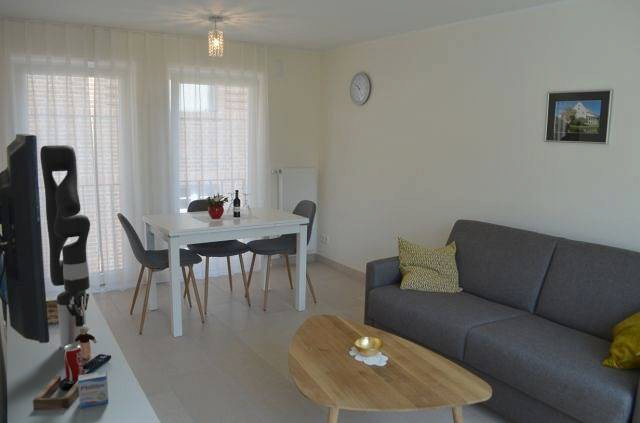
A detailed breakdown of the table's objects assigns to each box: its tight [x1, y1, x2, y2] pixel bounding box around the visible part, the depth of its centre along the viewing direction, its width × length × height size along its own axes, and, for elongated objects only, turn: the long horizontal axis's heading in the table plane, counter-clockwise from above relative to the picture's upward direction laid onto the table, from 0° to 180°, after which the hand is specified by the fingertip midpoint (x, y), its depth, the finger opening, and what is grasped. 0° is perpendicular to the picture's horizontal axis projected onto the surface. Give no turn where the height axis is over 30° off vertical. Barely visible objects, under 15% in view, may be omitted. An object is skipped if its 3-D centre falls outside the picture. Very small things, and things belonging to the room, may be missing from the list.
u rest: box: [32, 375, 79, 411], centre depth 157 cm, size 15×10×3 cm
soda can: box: [63, 344, 85, 381], centre depth 166 cm, size 5×5×12 cm
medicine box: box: [78, 370, 109, 409], centre depth 154 cm, size 8×4×9 cm, turn 114°
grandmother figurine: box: [74, 324, 98, 361], centre depth 183 cm, size 8×4×13 cm, turn 111°
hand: (80, 325), depth 172 cm, fingers closed
